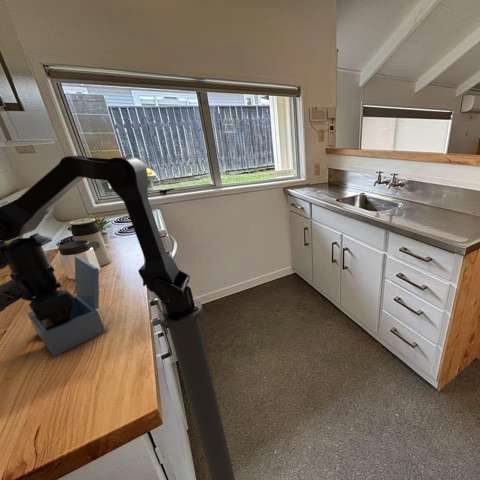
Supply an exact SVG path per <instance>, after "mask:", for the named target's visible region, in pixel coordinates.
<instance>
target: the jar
mask: <svg viewBox="0 0 480 480" xmlns="http://www.w3.org/2000/svg"><path fill="white" fill-rule="evenodd" d="M57 249H58V251H59V256H58V257H59V258H60V261H61V263H62V265H63V268H64V270H65V273H66V275H67V277H68V279H70V280H75V257H80V258H82V259H84V260H85V261H87V262H89V263H90V264H92V265H94V266H95V267H97V268H99V272H100V271H102V269H101V266H99V264H98V261H97V258H96V255H95V252H94V250H93V248H91V246H90V243H89V241H87V240H80V241H75V240H74V241H69V242H66V243H63V244H60V245H59V246H58V247H57Z"/></svg>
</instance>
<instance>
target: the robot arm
mask: <svg viewBox="0 0 480 480" xmlns="http://www.w3.org/2000/svg"><path fill="white" fill-rule="evenodd" d="M84 178H86V179H91V180H96V181H106V182H107V183H108V185H109V186H110V188H111V190H112V191H113V192H114V193H115V194H116V195H117V196H118V197H119V198H120V199H121V200H122V202H123V203H124V205H125V208H126V212H127V214H128V216H129V219H130V222H131V224H132V227H133V230H134V233H135V235H136V238H137V241H138V244H139V246H140V249H141V252H142V254H143V257H144V263H143V265H142V266H141V267H140V268H139V269H138V275H139V276H140V278H141V280H142V286H143V287H145V286H146V288H147V290H148V291H149V292H152V293H154V294H155V296H156V297H157V298H158V299H159V301H160V306H161V309H162V310H163V314H164V315H165V316H167V317H168V318H171V319H172V320H174V321H177V320H179V319H181V318H183V317H184V316H186V315H188V314H190V313H192V312H193V311H195V310H197V309H198V306H196V305H194V301H193V300H194V297H193V293H192V287H191V286H189V285H188V284H189V283H190V280H191V279H190V278H191V275H189V274H187V273H186V272H184V271H183V270H181V269H179V267H178V266H177V264H176V262H175V260H174V258H173V257H172V256H171V255H170V254H168V252H167V250H166V249H165V244H164V242H163V238H162V236H161V233H160V230H159V227H158V223H157V220H156V218H155V215H154V211H153V209H152V206H151V203H150V200H149V194H148V193H149V178H148V170H147V166H146V165H145V163H144V162H143V161H142V160H140V159H138V158H137V157H134V156H128V155H127V156H126V155H125V156H120V157H119V156H117V157H111V158H103V157H102V158H101V157H91V156H85V155H68V156H67V155H66V156H64V157H63V158H62V157H61V159H60V161H59V162H58V163H57V164H56V165H55V166H54V167H53V168H51V170H49V171H48V172H47V173H46V174H45V175H44V176H43V177H41V178H40V179H39V180H38V181H37V182H36V183H34V184H33V185H32V186H31V187H29V189H27V190H26V191H24V193H23V194H22V195H20V196H19V197H17V198H15V199H14V200H12V201H11V202H8V203H6V204H3V205H1V206H0V270H4V269H5V268H6V267H8V268H9V269H10V271H11V272H10V274H9V276H10V278H11V279H10V280H8V281H5V282H4V283H1V284H0V313H2V312H3V311H5V309H6V308H7V307H10V306H11V305H13V304H14V303H16V302H18V301H19V300H20V299H22V300H23V301H28V302H29V304H28V306H29V308H30V310H31V312H33V313H34V314H35V316H36V317H38V318H42V317H46V318H49V319H50V320H51V321H52V323H53V324H54V325H55V326H59V325H61V324H63V323H66V322H68V321H69V317H70V313H71V310H72V306H73V305H74V303H75V300H74V297H73V296H74V295H73V294H72V293H71V292H69V291H68V290H65V289H59V288H62V284H61V282H60V281H58V279H57V277H56V274H55V273H54V272H55V269H54V267H53V265H51V264H50V262H49V259H48V257H47V254H46V253H45V249H44V248H43V246H45V245H46V244H49V243H50V242H53V239H52V238H51V237H48V236H45V235H43V234H40V233H39V232H36V233H34V234H31V235H29V236H28V237H21V236H23V235H26V234H28V233H31V232H33V231H35V230H36V229H37V228H38V227H39V226H40V224H41V223H42V221H43V220H44V219H45V216H46V212H47V211H48V209H49V208H50V207H51V206H53V205H54V204H55V203H56V202H57V201H58V200H60V199H61V198H62V197H63V196H65V195H66V194H67V193H68V192H69V191H71V189H73V188H74V187H75V186H76V185H78V184H79V183H80V182H81V181H82V180H83V179H84ZM20 237H21V238H20ZM8 241H10V242H8ZM6 242H7V243H6ZM162 310H161V311H162Z"/></svg>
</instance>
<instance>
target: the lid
mask: <svg viewBox="0 0 480 480" xmlns="http://www.w3.org/2000/svg"><path fill="white" fill-rule="evenodd" d="M99 275H100V271H99V268H97V267H95V266H94V265H92V264H90V263H89V262H87V261H85V260H84V259H82V258H80V257H75V279H74V293H75V295H78V296H79V297H80V298H81V299H83V300H84V301H85V302H86V303H87V304H89V305H90V306H91V307H92V308H93V309H96V310H99V309H100V307H99V305H100V303H99V302H100V295H99V294H100V293H99V292H100V290H99V289H100V288H99V287H100V285H99V284H100V278H99V277H100V276H99Z"/></svg>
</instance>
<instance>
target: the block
mask: <svg viewBox="0 0 480 480" xmlns="http://www.w3.org/2000/svg"><path fill="white" fill-rule="evenodd" d="M69 321H71V318H70V317H69ZM41 324H42V325H43V327H44V328H45V329H46V330H49V329H52V328H54V327H56V326H55V325H54V324H53V323H52V321H51V320H50V319H49V318H48V319H45V320H43V321H41Z"/></svg>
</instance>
